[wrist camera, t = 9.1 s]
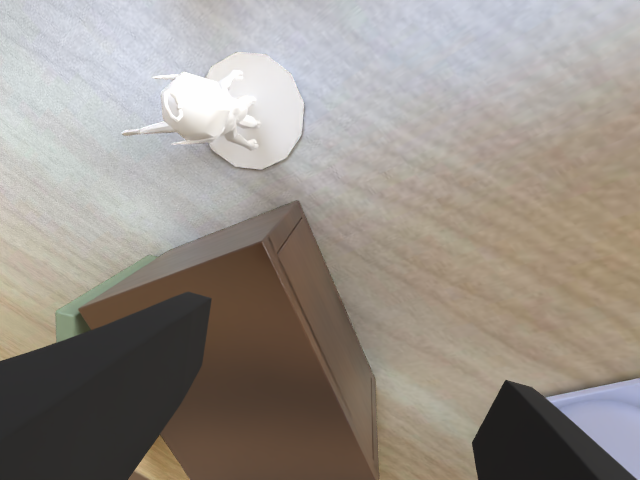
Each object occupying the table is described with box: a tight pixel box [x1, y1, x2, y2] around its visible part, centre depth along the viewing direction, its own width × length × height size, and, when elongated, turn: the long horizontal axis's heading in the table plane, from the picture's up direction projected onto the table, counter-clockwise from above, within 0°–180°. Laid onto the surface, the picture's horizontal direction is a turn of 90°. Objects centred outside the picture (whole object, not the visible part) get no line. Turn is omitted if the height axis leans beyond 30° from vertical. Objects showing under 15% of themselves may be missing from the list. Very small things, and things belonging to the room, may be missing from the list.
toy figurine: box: [122, 52, 304, 170], centre depth 13 cm, size 5×8×7 cm, turn 99°
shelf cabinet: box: [78, 200, 379, 480], centre depth 17 cm, size 12×8×6 cm
